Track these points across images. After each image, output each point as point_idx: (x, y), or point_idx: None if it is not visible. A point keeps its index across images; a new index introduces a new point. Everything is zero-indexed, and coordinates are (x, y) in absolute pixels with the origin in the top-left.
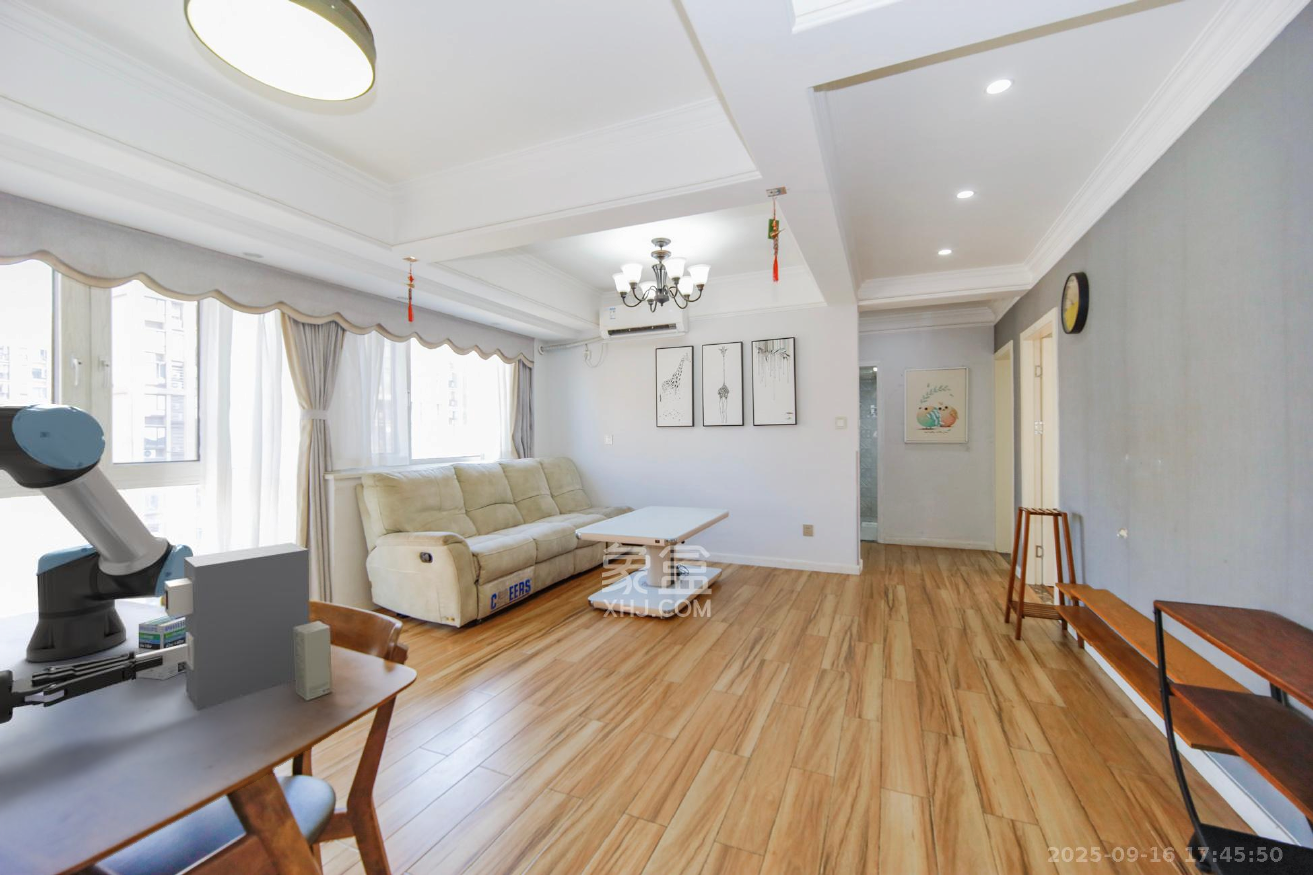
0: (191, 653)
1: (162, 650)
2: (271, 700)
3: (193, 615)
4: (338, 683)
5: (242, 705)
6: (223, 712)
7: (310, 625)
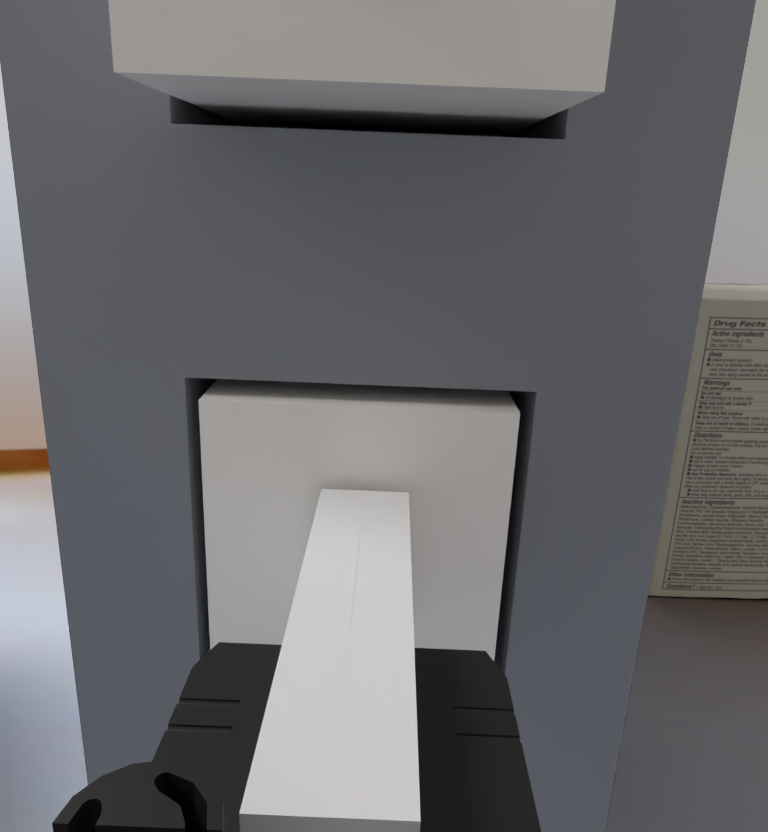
0: (504, 545)
1: (361, 597)
2: (696, 659)
3: (572, 140)
4: None
5: (683, 738)
6: (737, 816)
7: (718, 289)
